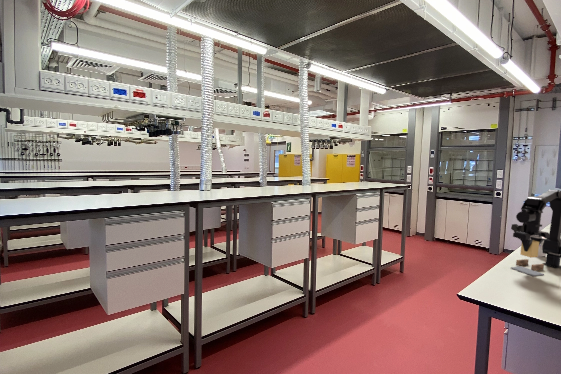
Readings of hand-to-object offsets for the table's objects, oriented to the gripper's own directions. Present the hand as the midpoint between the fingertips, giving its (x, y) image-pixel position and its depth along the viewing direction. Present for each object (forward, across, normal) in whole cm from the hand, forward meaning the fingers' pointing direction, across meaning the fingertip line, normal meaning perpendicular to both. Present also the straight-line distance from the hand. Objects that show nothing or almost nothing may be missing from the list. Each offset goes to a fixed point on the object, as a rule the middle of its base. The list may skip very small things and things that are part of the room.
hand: (529, 251), depth 155 cm
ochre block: (+2, 0, 0) cm, 2 cm away
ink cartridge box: (+12, -41, -20) cm, 47 cm away
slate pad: (+11, 0, 0) cm, 11 cm away
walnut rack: (+11, -9, -4) cm, 15 cm away
